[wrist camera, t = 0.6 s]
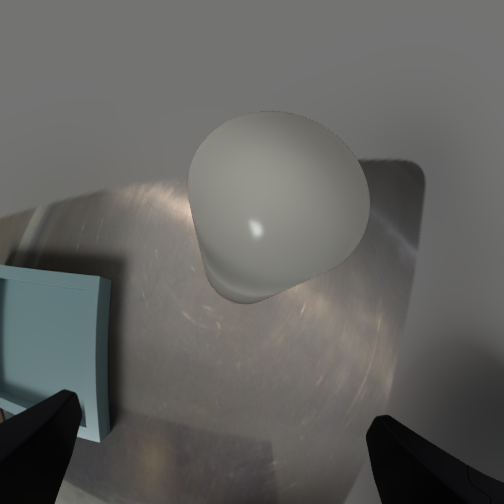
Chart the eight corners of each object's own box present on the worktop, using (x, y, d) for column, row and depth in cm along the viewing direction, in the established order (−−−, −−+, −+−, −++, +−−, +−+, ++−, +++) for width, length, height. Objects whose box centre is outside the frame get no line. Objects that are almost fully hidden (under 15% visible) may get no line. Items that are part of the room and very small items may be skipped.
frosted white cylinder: (285, 305, 21) (376, 282, 9) (202, 302, 21) (178, 273, 8) (285, 227, 23) (358, 125, 10) (207, 221, 22) (199, 105, 9)
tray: (110, 432, 17) (100, 442, 15) (1, 396, 16) (-14, 400, 14) (111, 281, 20) (99, 276, 18) (2, 268, 19) (-14, 263, 16)
